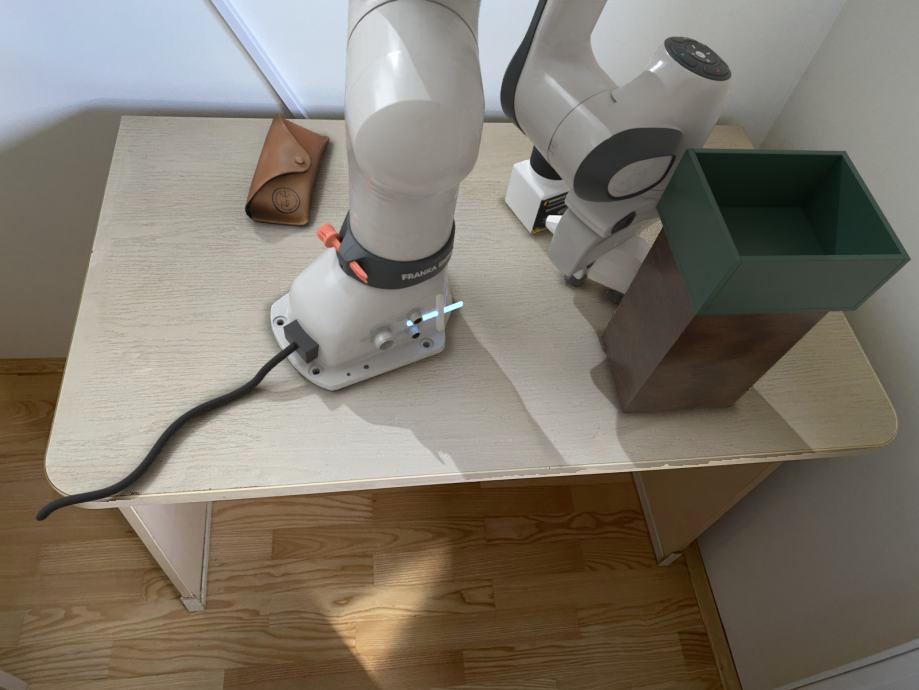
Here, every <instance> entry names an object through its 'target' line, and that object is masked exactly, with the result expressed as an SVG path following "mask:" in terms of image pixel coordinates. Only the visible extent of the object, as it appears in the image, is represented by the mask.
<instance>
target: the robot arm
mask: <svg viewBox="0 0 919 690" xmlns="http://www.w3.org/2000/svg"><path fill="white" fill-rule="evenodd" d="M482 1H483V0H348V7H347V8H348V9H347V28H346V29H347V30H346V33H347V34H346V51H345V53H346V55H345V75H344V97H343V98H344V99H343V110H344V130H345V144H346V145H345V146H346V158H347V159H346V160H347V166H348V205H349V206H348V207H349V208H348V210H347V213H346V215H345V217H344V219H343V221H342V224H341V227H340V230H339V232H337V230H336V229H335V227H334V226H333V224H331V223H329V222H327V223H324V224H322V225H320V226H319V227H318V229H317V230H316V234H315V235H316V237H317V238H318V239H319V241H321V242H323V245H324V247H325V248H326V249H325V250H323V252H321V254H320V255H318V256H317V257H316V258H315V259H314V260H313V261H312V262H311V263H310V264H309V265H308V266H306V268H305V269H304V270H302V271H301V272H300V274H298V275H297V276H296V277H295V278H294V280H293V281H292V283H291V285H290V289H289V292H287V293H286V294H284V295H283V296H281V298H279V299H277V300H276V301H275V302H274V303H272V305H271V307H270V327H271V330H272V334H273V336H274V339H275V341H276V342H277V344H278V346H279V348H280V349H281V351H279V352H278V353H277V354H275V355H274V356H273V357H272V358H270V359H269V360H268V361H267V362H265V363H264V364H263V366H262V367H261V368H260V369H259V370H258V371H257V372H256V374H255V375H254V376H253V377H252V378H251V379H250V380H249V381H247V382H246V383H245V384H243V385H242V386H240V387H239V388H236V389H234V390H232V391H230V392H228V393H225V394H223V395H220V396H218V397H216V398H212V399H209V400H208V401H205V402H203V403H201V404H199V405H197V406H194V407H192V408H191V409H189V410H187V411H186V412H184V413H183V414H181V415H180V416H179V417H178V418H176V419H175V420H174V421H173V422H172V423H170V425H169V426H168V427H167V428H166V429H165V430H164V431H163V433H162V434H161V435H160V436H159V437H158V439H157V440H156V442H155V443H154V444H153V446H152V447H151V448H150V450H149V451H148V453H147V455H146V456H145V457H144V458H143V460H142V461H141V463H139V464H138V466H137V467H136V468H135V469H134V470H133V471H132V472H130V473H129V474H128V475H127V476H125V477H124V478H123V479H121V480H120V481H118V482H116V483H114V484H112V485H110V486H106V487H104V488H101V489H97V490H92V491H91V490H90V491H86V492H82V493H76V494H71V495H70V494H69V495H66V496H62V497H60V498H56V499H54V500H52V501H50V502H49V503H47V504H46V505H44V506H43V507H42V508H41V509H40V510H39V511H38V512H37V514H36V516H35V520H36V521H37V522H38V521H39V522H41V521H45V520H46V519H47V518H48V517H49V516H50V515H51V514H52V513H54V512H55V511H57V510H60V509H62V508H66V507H69V506H73V505H79V504H84V503H90V502H95V501H99V500H103V499H106V498H110V497H112V496H114V495H117V494H119V493H121V492H123V491H124V490H126V489H127V488H129V487H130V486H132V485H133V484H135V483H136V482H137V481H138V480H140V478H142V476H143V475H145V474H146V472H147V471H148V470H149V469H150V467H152V465H153V464H154V462H155V461H156V460H157V458H158V457H159V455H160V454H161V452H162V451H163V450H164V448H165V447H166V445H167V444H168V442H169V441H170V440H171V438H172V437H173V436H174V435H175V434H176V433H177V432H178V431H179V430H180V429H181V428H182V427H183V426H185V425H186V424H188V423H189V422H190V421H191V420H193V419H194V418H196V417H198V416H200V415H201V414H204V413H206V412H208V411H210V410H212V409H215V408H217V407H221V406H223V405H226V404H228V403H231V402H233V401H235V400H237V399H239V398H241V397H243V396H245V395H246V394H248V393H250V392H251V391H252V390H254V389H255V388H257V387H258V386H259V385H260V384H261V383H262V382H263V380H264V379H265V377H266V376H267V375H268V374H269V373H270V372H271V371H272V370H273V369H274V368H275V367H277V366H278V365H279V364H280V363H282V362H283V361H284V360H285V359H288V361H289V362H290V364H292V366H293V367H294V368H295V369H296V370H297V371H298V372H299V373H300V374H301V376H303V377H304V378H305V379H306V380H308V381H310V382H311V383H312V384H314V385H316V386H318V387H319V388H322V389H324V390H327V391H331V392H333V391H336V390H340V389H343V388H346V387H349V386H352V385H354V384H358V383H360V382H363V381H366V380H369V379H371V378H374V377H376V376H379V375H383V374H385V373H388V372H390V371H393V370H396V369H399V368H402V367H405V366H407V365H410V364H413V363H415V362H418V361H422V360H424V359H427V358H429V357H433V356H435V355H439V354H440V353H442V352H443V351H444V350H445V347H446V326H447V324H448V321H449V319H450V316H451V313H452V311H453V310H456V309H458V308H461V307H463V306H464V303H463V301H462V300H461V301H458V302H456V303H453V294H452V290H451V288H450V284H449V283H450V282H449V272H448V271H449V263H450V260H451V258H452V255H453V251H454V247H455V246H454V245H455V238H456V237H455V236H456V221H455V213H456V207H457V200H458V196H459V190H460V184H461V183H462V182H464V180H465V179H466V178H467V177H468V176H469V175H470V174H471V172H472V171H473V169H474V167H475V165H476V163H477V161H478V158H479V153H480V149H481V148H480V147H481V143H482V136H483V130H484V123H485V122H484V121H485V114H486V113H485V111H486V100H485V93H484V92H485V91H484V84H483V76H482V68H481V60H480V59H481V58H480V49H479V23H480V12H481V6H482ZM607 2H608V0H538V2H537V4H536V8H535V10H534V13H533V15H532V18H531V21H530V23H529V26H528V28H527V30H526V33H525V35H524V36H523V39H522V41H521V43H520V44H519V46H518V47H517V48H516V50H515V52H514V54H513V55H512V57H511V59H510V61H509V63H508V64H507V67H506V69H505V71H504V74H503V77H502V80H501V85H500V86H501V87H500V93H499V100H500V106H501V110H502V112H503V114H504V115H505V116H506V118H507V119H508V120H509V121H510V122H511V123H512V124H513V125H514V126H515V127H516V128H517V129H518V130H519V131H520V132H521V133H522V134H523V135H524V136H526V137H527V138H528V140H529V141H530V142H531V143H532V144H533V146H534V145H535V147H536V148H537V149H538V150H539V152H540V153H541V154H542V155H543V157H544V158H545V159H546V160H547V162H548V163H549V164H550V165H551V167H553V168H554V169H555V170H556V172H557V173H558V174H559V175H560V177H561V178H562V179H563V180H564V181H565V183H566V184H567V185H568V186H569V187H570V189H571V190H570V191H569V192H568V194H567V196H566V198H565V204H566V205H567V206H568V207H569V208H568V209H567V210H566V211H565V213H564V214H563V215H562V217H561V219H560V221H559V223H558V225H557V227H556V230H555V233H554V234H552V235H553V236H552V238H551V242H550V244H549V247H548V250H547V258H548V260H549V261H550V263H552V265H553V266H554V267H556V269H558V271H560V272H561V273H562V274H563V275H564V276H565V275H566V276H572V275H574V276H575V277H576V278H577V279H581V278H582V277H584V276H585V275H587V274H588V271H589V270H590V268H591V267H590V266H589V264H591V263H592V262H594V261H595V260H597V259H598V258H600V257H602V256H603V255H605V254H606V253H608V252H610V251H611V250H613V249H614V248H616V247H617V246H619V245H621V244H622V243H624V242H625V241H627V240H628V239H630V238H632V237H633V236H635V235H637V236H640V235H641V233H642V232H644V230H647V229H648V228H649V227H651V226H653V225H654V224H656V223H657V222H659V221H661V220H660V217H659V214H658V212H657V209H656V206H657V204H658V202H659V200H660V198H661V196H662V194H663V192H664V190H665V189H666V187H667V185H668V183H669V181H670V179H671V177H672V175H673V173H674V172H675V170H676V168H677V166H678V164H679V162H680V160H681V158H682V156H683V155H684V153H685V151H686V149H687V148H704V147H705V145H706V144H707V142H708V140H709V139H710V136H711V135H712V133H713V130H714V128H715V127H716V125H717V123H718V120H719V119H720V117H721V115H722V113H723V109H724V107H725V105H726V103H727V100H728V97H729V94H730V91H731V88H732V83H733V81H732V80H733V73H732V71H731V69H730V66H729V65H728V64H727V62H726V61H725V60H724V59H723V58H722V57H721V56H720V55H719V54H718V53H717V52H715V51H714V49H712V48H710V47H709V46H708V45H706V44H704V43H702V42H700V41H698V40H697V39H694V38H691V37H687V36H668V37H666V38H665V39H663V40H662V41H661V43H659V45H658V47H657V48H656V49H655V51H654V52H653V54H652V56H651V57H650V59H649V61H648V63H647V64H646V65H645V68H644V70H643V71H642V72H641V73H639V74H638V75H637V76H636V77H635V78H633V79H632V80H631V81H629V82H627V83H626V84H624V85H623V86H619V85H618V84H617V83H616V82H615V81H614V80H613V79H612V78H611V76H610V75H609V74H608V73H607V72H606V71H605V70H604V69H603V68H602V66H601V65H600V64H599V62H598V60H597V59H596V57H595V54H594V51H593V48H592V41H591V39H592V38H591V37H592V34H593V32H594V29H595V28H596V25H597V23H598V21H599V19H600V17H601V15H602V12H603V10H604V8H605V6H607V5H606V4H607ZM279 324H280V325H279ZM426 346H428V347H426ZM316 372H318V373H317V374H315V373H316Z"/></svg>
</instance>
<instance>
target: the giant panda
mask: <svg viewBox="0 0 919 690" xmlns="http://www.w3.org/2000/svg"><path fill="white" fill-rule="evenodd" d="M561 217H562V216H556V215H548V216H547V217H546V220H545V225H546V227H547V229H548V231H550V232H551V234H552V235H554V233H555V230H556V227H557V225H558V223H559V221H560V219H561ZM651 247H652V246H651V245H650V244H649V242H648V241H647V240H646V239H645V238H644V237H642V236H640V235H638V236H637V235H635V236H633V237H632V238H630V239H628V240H627V241H625V242H624V243H622V244H621V245H619V246H617V247H616V248H614V249H613V250H611V251H610V252H608V253H606V254H605V255H603V256H602V257H600V258H598V259H597V260H595V261H594V262H592V263H591V264H589V266H590V267H591V268H590V270H589V271H588V274H587V275H585V276H584V277H582V278H581V279H577V278H576V277H575V276H574V275H572V276H566V275H565V274H564V277H563V279H564V280H563V281H565V282H566V283H569V284H571V285H574V286H577V287H580V286H581V285H582V284H583V283H584V281H585V280H587V279H589V280H591V281H594V282H596V283H598V284H600V285H603V286H605V287H607V288H609V290H607V291H606V292H605V298H606V299H608V300H610V301H612V302H614V303H617V304H618V305H619V304H620V302H621V300H622V298H623V297H624V295H625V293H626V291H627V289H628V288H629V286H630V284H631V282H632V281H633V279H634V277H635V275H636V273H637V272H638V270H639V268H640V266H641V264H642V263H643V261H644V259H645V257H646V256H647V254H648V252H649V250H650V248H651Z"/></svg>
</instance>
